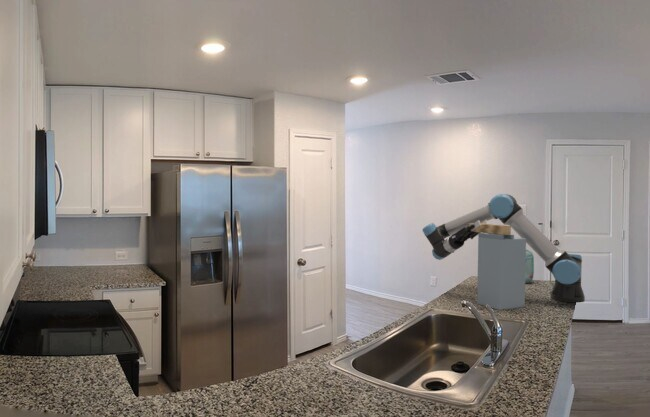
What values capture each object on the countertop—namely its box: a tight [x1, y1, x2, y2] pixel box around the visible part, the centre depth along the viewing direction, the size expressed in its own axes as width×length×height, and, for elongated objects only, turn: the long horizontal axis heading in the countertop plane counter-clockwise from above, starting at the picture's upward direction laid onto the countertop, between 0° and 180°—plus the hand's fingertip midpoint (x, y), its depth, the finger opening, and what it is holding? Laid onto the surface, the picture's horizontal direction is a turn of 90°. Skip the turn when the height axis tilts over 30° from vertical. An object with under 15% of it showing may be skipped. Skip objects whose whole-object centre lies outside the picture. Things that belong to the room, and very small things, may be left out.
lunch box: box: [525, 248, 535, 284], centre depth 284 cm, size 27×10×21 cm, turn 67°
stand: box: [476, 233, 527, 311], centre depth 223 cm, size 14×16×34 cm
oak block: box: [468, 223, 512, 235], centre depth 225 cm, size 23×4×4 cm, turn 27°
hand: (483, 222), depth 228 cm, fingers closed on oak block, 4 cm apart
